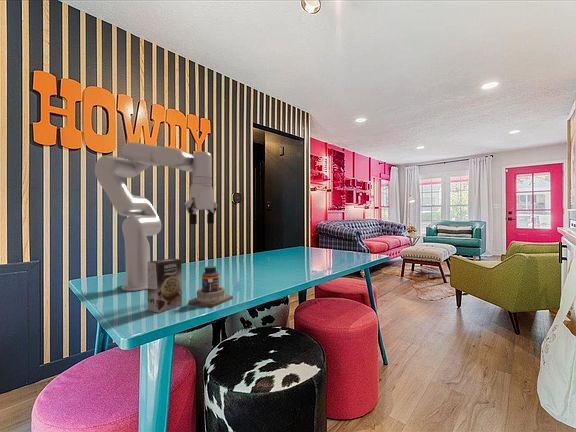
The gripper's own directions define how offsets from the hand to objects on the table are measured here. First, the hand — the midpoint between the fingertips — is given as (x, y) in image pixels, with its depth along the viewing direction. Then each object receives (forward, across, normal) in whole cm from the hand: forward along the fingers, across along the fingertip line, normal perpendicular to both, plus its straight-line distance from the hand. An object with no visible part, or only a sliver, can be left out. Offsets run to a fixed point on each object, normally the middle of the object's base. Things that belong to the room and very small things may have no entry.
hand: (202, 223), depth 115 cm
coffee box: (+28, +21, +4) cm, 35 cm away
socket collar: (+27, +9, +13) cm, 32 cm away
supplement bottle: (+27, +9, +13) cm, 31 cm away
